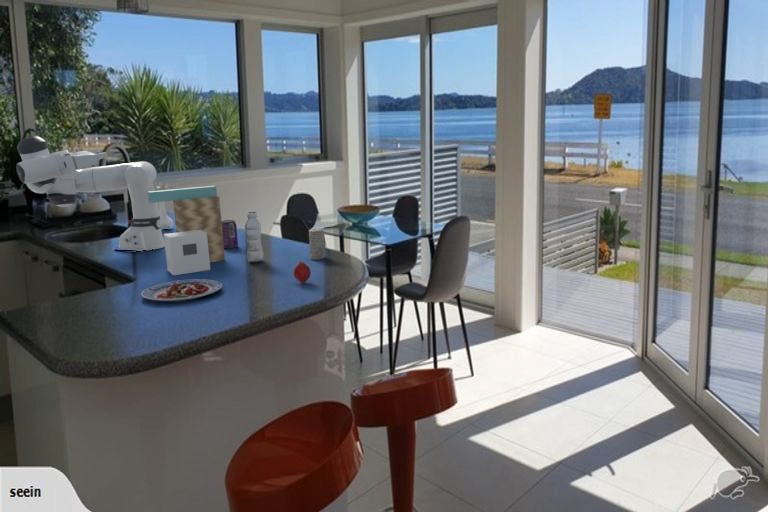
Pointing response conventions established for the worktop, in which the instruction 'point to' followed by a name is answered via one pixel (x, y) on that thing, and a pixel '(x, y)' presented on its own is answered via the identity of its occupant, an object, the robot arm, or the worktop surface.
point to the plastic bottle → (253, 238)
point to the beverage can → (229, 233)
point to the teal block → (182, 194)
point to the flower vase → (164, 218)
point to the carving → (317, 244)
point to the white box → (187, 252)
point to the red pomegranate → (302, 272)
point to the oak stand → (202, 222)
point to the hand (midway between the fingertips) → (104, 153)
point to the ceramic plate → (181, 290)
